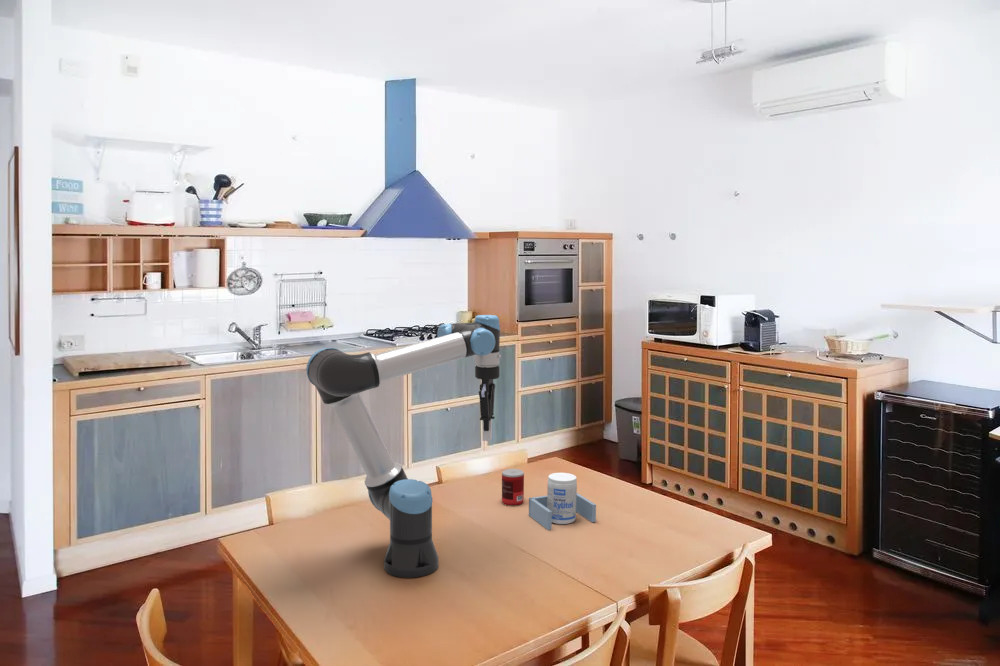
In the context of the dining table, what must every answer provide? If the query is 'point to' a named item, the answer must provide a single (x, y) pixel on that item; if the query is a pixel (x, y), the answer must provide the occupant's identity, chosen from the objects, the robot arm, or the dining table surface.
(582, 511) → the bay
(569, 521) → the supplement tub
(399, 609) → the dining table surface
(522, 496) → the canned food
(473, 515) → the dining table surface
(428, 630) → the dining table surface
